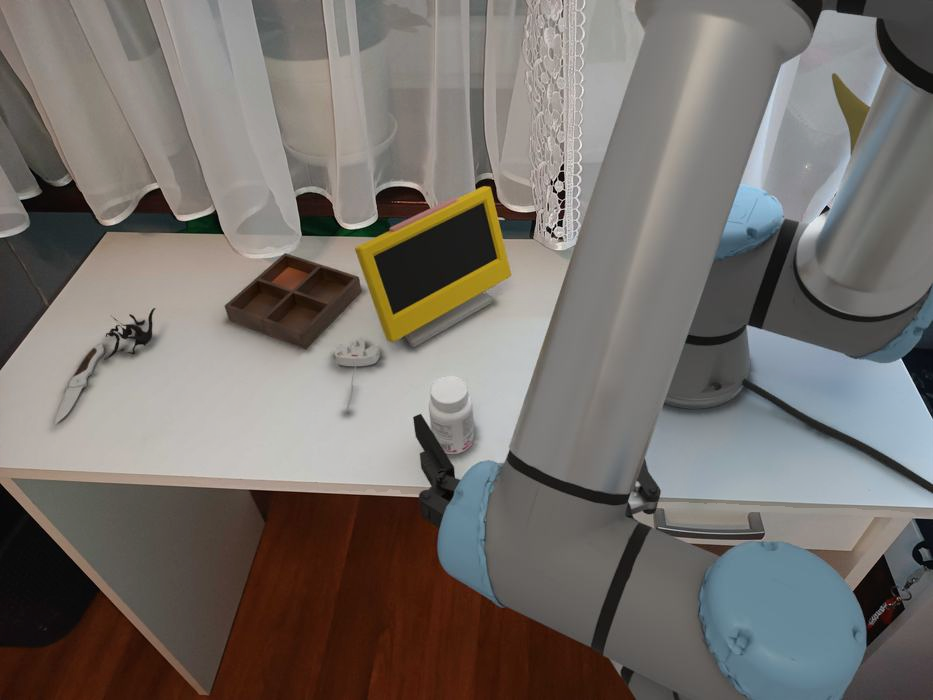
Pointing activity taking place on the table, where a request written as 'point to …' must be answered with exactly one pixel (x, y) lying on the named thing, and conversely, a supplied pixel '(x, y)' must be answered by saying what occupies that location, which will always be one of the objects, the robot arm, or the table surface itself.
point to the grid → (294, 300)
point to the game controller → (357, 356)
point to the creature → (140, 335)
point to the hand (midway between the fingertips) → (486, 397)
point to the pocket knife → (79, 380)
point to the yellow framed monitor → (435, 267)
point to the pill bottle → (451, 414)
